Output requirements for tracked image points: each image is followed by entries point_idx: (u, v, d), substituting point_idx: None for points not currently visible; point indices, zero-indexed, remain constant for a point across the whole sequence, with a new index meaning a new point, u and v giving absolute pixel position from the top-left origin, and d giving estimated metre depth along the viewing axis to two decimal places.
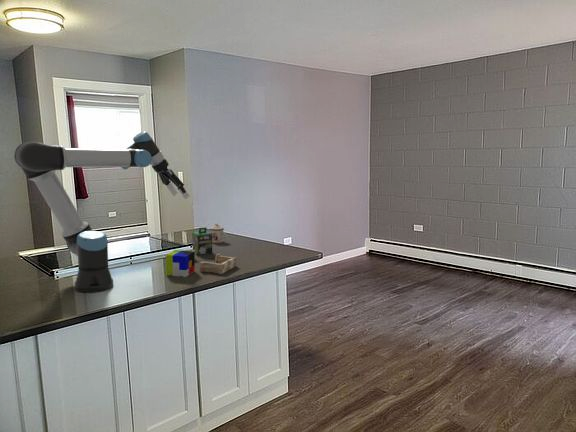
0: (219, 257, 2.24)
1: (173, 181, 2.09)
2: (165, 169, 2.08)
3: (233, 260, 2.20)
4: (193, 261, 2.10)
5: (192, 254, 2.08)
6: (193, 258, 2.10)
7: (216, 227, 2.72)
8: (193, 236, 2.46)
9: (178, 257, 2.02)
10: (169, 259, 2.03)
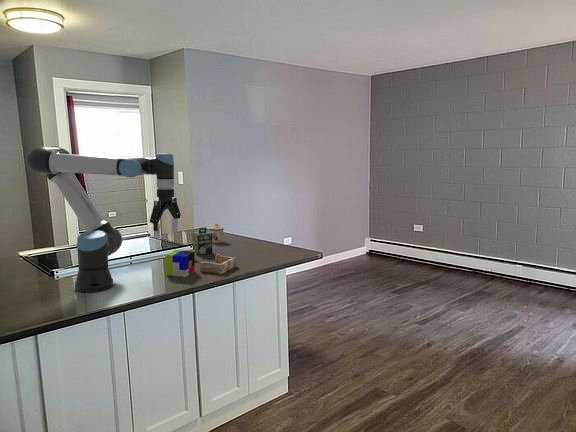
0: (219, 257, 2.24)
1: None
2: (160, 198, 1.89)
3: (233, 260, 2.20)
4: (193, 261, 2.10)
5: (192, 254, 2.08)
6: (193, 258, 2.10)
7: (216, 227, 2.72)
8: (193, 236, 2.46)
9: (178, 257, 2.02)
10: (169, 259, 2.03)
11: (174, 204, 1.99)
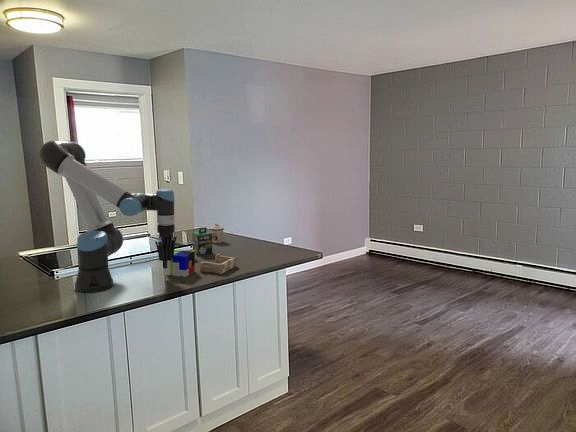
0: (219, 257, 2.24)
1: None
2: (160, 234, 1.91)
3: (233, 260, 2.20)
4: (193, 261, 2.10)
5: (192, 254, 2.08)
6: (193, 258, 2.10)
7: (216, 227, 2.72)
8: (193, 236, 2.46)
9: (178, 257, 2.02)
10: None
11: (172, 242, 1.99)
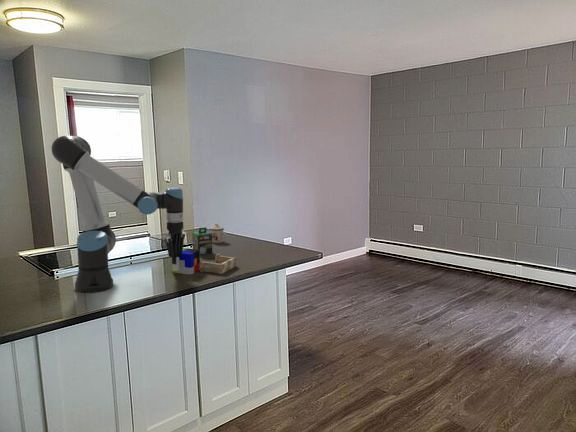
0: (219, 257, 2.24)
1: None
2: (169, 231, 1.97)
3: (233, 260, 2.20)
4: (198, 259, 2.14)
5: (197, 252, 2.12)
6: (198, 256, 2.14)
7: (216, 227, 2.72)
8: (193, 236, 2.46)
9: (183, 255, 2.06)
10: None
11: (181, 239, 2.05)
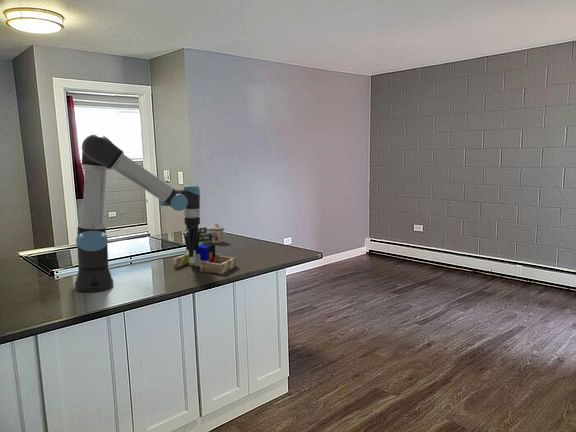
0: (219, 257, 2.24)
1: None
2: (187, 226, 2.11)
3: (233, 260, 2.20)
4: (214, 253, 2.27)
5: (213, 246, 2.25)
6: (214, 250, 2.26)
7: (216, 227, 2.72)
8: None
9: (199, 248, 2.19)
10: None
11: (197, 233, 2.18)
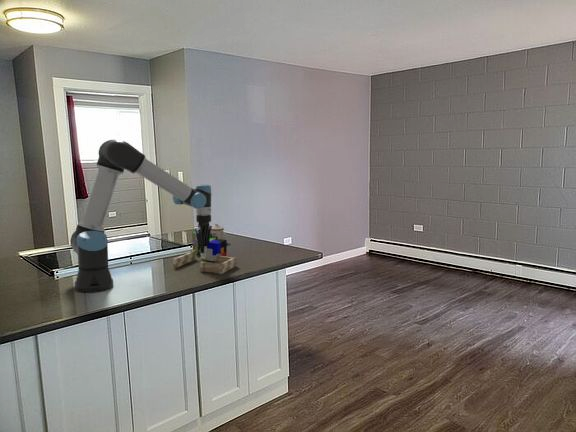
0: (219, 257, 2.24)
1: None
2: (199, 223, 2.21)
3: (233, 260, 2.20)
4: (225, 248, 2.38)
5: (224, 242, 2.36)
6: (225, 245, 2.37)
7: (216, 227, 2.72)
8: (193, 236, 2.46)
9: (211, 244, 2.30)
10: None
11: (208, 230, 2.29)
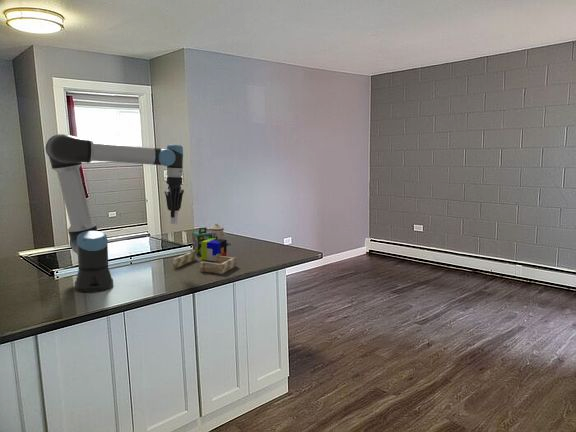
0: (219, 257, 2.24)
1: None
2: (169, 185, 2.09)
3: (233, 260, 2.20)
4: (225, 248, 2.38)
5: (224, 242, 2.36)
6: (225, 245, 2.37)
7: (216, 227, 2.72)
8: (193, 236, 2.46)
9: (211, 244, 2.30)
10: (204, 245, 2.32)
11: None
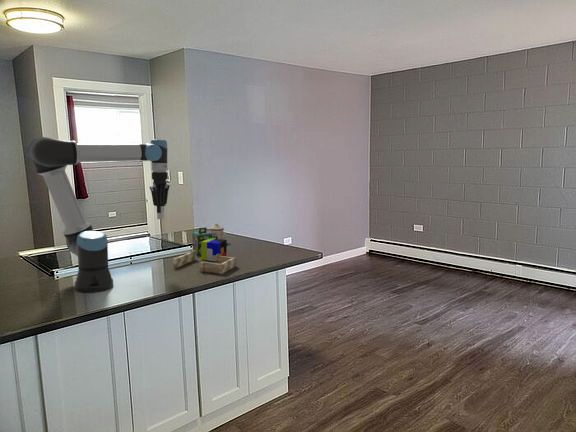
0: (219, 257, 2.24)
1: None
2: (154, 180, 2.08)
3: (233, 260, 2.20)
4: (225, 248, 2.38)
5: (224, 242, 2.36)
6: (225, 245, 2.37)
7: (216, 227, 2.72)
8: (193, 236, 2.46)
9: (211, 244, 2.30)
10: (204, 245, 2.32)
11: (165, 190, 2.15)
